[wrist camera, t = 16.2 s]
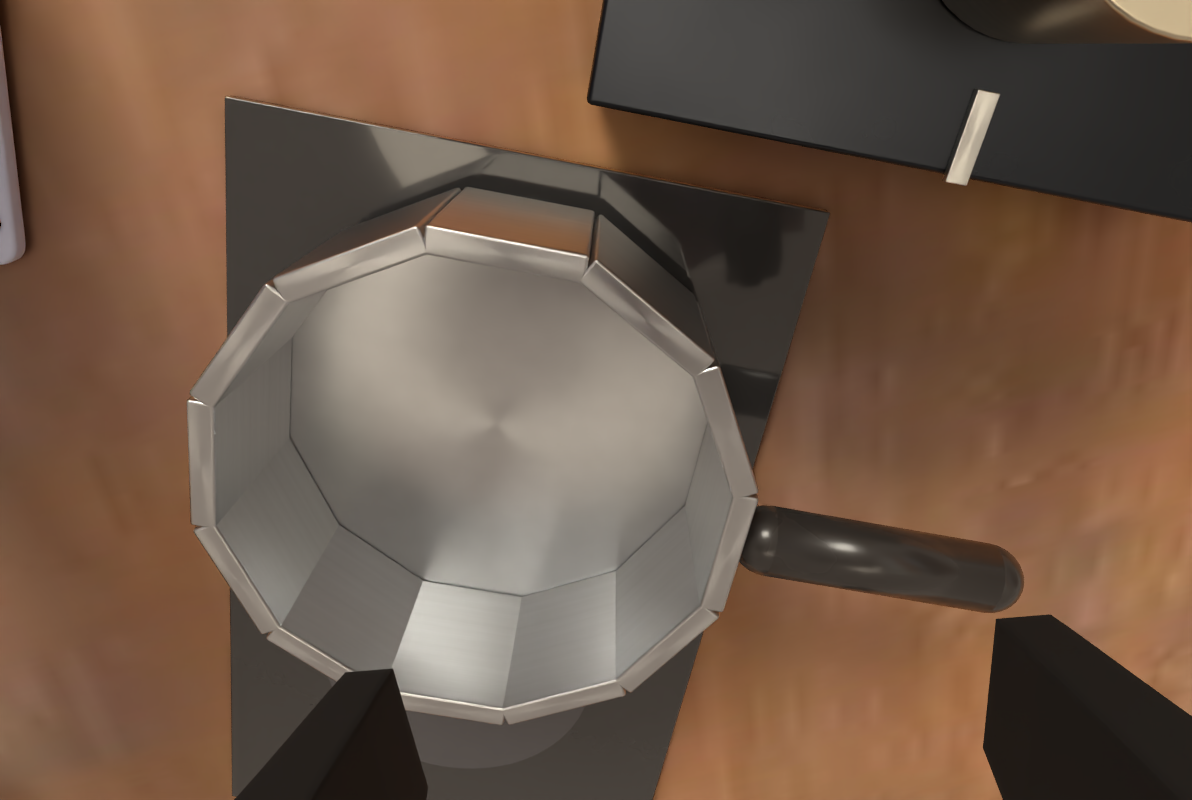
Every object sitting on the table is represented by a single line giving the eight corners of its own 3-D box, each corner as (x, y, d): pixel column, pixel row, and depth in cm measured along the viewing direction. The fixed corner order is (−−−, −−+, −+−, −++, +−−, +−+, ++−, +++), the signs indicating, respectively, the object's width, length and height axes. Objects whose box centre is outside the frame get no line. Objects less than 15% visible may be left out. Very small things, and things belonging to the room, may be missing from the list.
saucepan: (280, 549, 21) (194, 679, 17) (289, 143, 17) (178, 178, 12) (876, 647, 22) (940, 794, 18) (1030, 286, 18) (1164, 363, 13)
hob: (635, 846, 26) (636, 855, 26) (235, 788, 25) (231, 796, 25) (827, 209, 17) (831, 212, 17) (230, 95, 17) (223, 96, 16)
